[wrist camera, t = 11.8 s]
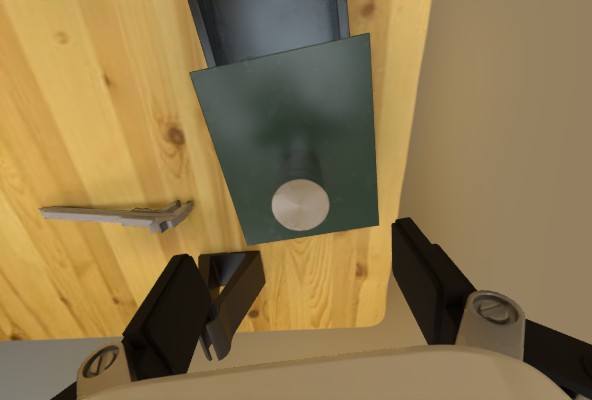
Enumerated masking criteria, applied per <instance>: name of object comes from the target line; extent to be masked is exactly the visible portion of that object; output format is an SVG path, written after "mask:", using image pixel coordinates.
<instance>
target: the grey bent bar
mask: <svg viewBox="0 0 592 400" xmlns="http://www.w3.org/2000/svg"><path fill="white" fill-rule="evenodd" d="M192 209H193V208H192V205H191V202H190V201H188V202H187V203H185V204H184V205H182V206H181V204H180V201H176V202H173V203H171V204H169V205H167V206H165V207H163V208H161V209H158V210H156V211H154V210H151V209H148V208H144V209H141V208H135V209H133V210H131V211H126V210H106V209H87V208H69V207H51V208H39V210H40V212H41V214H42V215H43V216H44V217H45V218H47V219H62V220H78V221H94V222H110V223H121V224H122V225H125V226H138V227H150V230H151V233H153V232H156V231H158V230H160V233H161V234H162V233H163V232H164V231H165V230H167V229H168V228H174V227H175V226H177V225H178V224H179V223H181V222H182V221H183V220H184V219H185V218H186V217H187V216H188V214H189V213H190V212H191V210H192Z"/></svg>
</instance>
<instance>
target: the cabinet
mask: <svg viewBox="0 0 592 400" xmlns="http://www.w3.org/2000/svg"><path fill="white" fill-rule="evenodd" d="M189 74H190V77H191V80H192V83H193V86H194V88H195V91H196V94H197V97H198V100H199V103H200V106H201V109H202V112H203V115H204V118H205V121H206V124H207V127H208V130H209V133H210V136H211V139H212V142H213V145H214V148H215V151H216V154H217V157H218V160H219V163H220V165H221V168H222V171H223V174H224V177H225V180H226V183H227V186H228V189H229V192H230V195H231V198H232V201H233V204H234V207H235V210H236V213H237V216H238V219H239V222H240V225H241V228H242V231H243V234H244V237H245V240H246V242H247V245H255V244H261V243H268V242H274V241H281V240H287V239H294V238H300V237H307V236H313V235H319V234H326V233H332V232H339V231H345V230H352V229H358V228H365V227H371V226H378V225H379V213H378V192H377V172H376V151H375V131H374V110H373V90H372V69H371V49H370V33H365V34H361V35H356V36H352V37H347V38H343V39H338V40H334V41H329V42H324V43H320V44H315V45H311V46H306V47H302V48H297V49H293V50H288V51H284V52H279V53H275V54H270V55H266V56H261V57H257V58H252V59H247V60H243V61H238V62H234V63H229V64H225V65H220V66H216V67H211V68H207V69H202V70H198V71H193V72H190V73H189ZM293 150H306V151H309V152H311V153H312V154H313V155H315V156H316V158H317V159H318V161H319V163H320V167H321V171H322V175H323V179H324V183H325V186H326V190H327V194H328V198H329V211H328V214H327V216H326V218H325V219H324V220H323V221H322V222H321V223H320V224H319V225H318V226H316V227H314V228H312V229H309V230H302V231H298V230H292V229H289V228H287V227H285V226H283V225H282V224H281V223H279V222H278V220H277V219H276V218H275V216H274V214H273V211H272V198H273V193H274V188H275V183H276V178H277V173H278V168H279V164H280V161H281V159H282V158H283V157H284V156H285V155H286V154H287V153H289V152H290V151H293Z"/></svg>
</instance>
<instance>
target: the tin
mask: <svg viewBox="0 0 592 400" xmlns="http://www.w3.org/2000/svg"><path fill="white" fill-rule="evenodd" d="M272 211H273V214H274V216H275V218H276V219H277V220H278V222H279V223H281V224H282V225H283V226H285V227H287V228H289V229H292V230H298V231H302V230H309V229H312V228H314V227H316V226H318V225H319V224H320V223H321V222H322V221H323V220H324V219H325V218H326V216H327V214H328V211H329V198H328V194H327V190H326V186H325V183H324V179H323V175H322V171H321V167H320V163H319V161H318V159H317V158H316V156H315V155H313V154H312V153H311V152H309V151H306V150H293V151H290V152H289V153H287V154H286V155H285V156H284V157H283V158H282V159H281V161H280V164H279V168H278V173H277V178H276V183H275V188H274V193H273V198H272Z"/></svg>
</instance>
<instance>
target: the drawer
mask: <svg viewBox="0 0 592 400" xmlns="http://www.w3.org/2000/svg"><path fill="white" fill-rule="evenodd" d="M188 4H189V7H190V10H191V13H192V17H193V20H194V23H195V26H196V30H197V33H198V36H199V40H200V43H201V46H202V49H203V53H204V56H205V59H206V62H207V66H208V68H211V67H216V66H220V65H225V64H229V63H234V62H238V61H243V60H247V59H252V58H257V57H261V56H266V55H270V54H275V53H279V52H284V51H288V50H293V49H297V48H302V47H306V46H311V45H315V44H320V43H324V42H329V41H334V40H338V39H343V38H347V37H350V33H349V20H348V7H347V0H188Z"/></svg>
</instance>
